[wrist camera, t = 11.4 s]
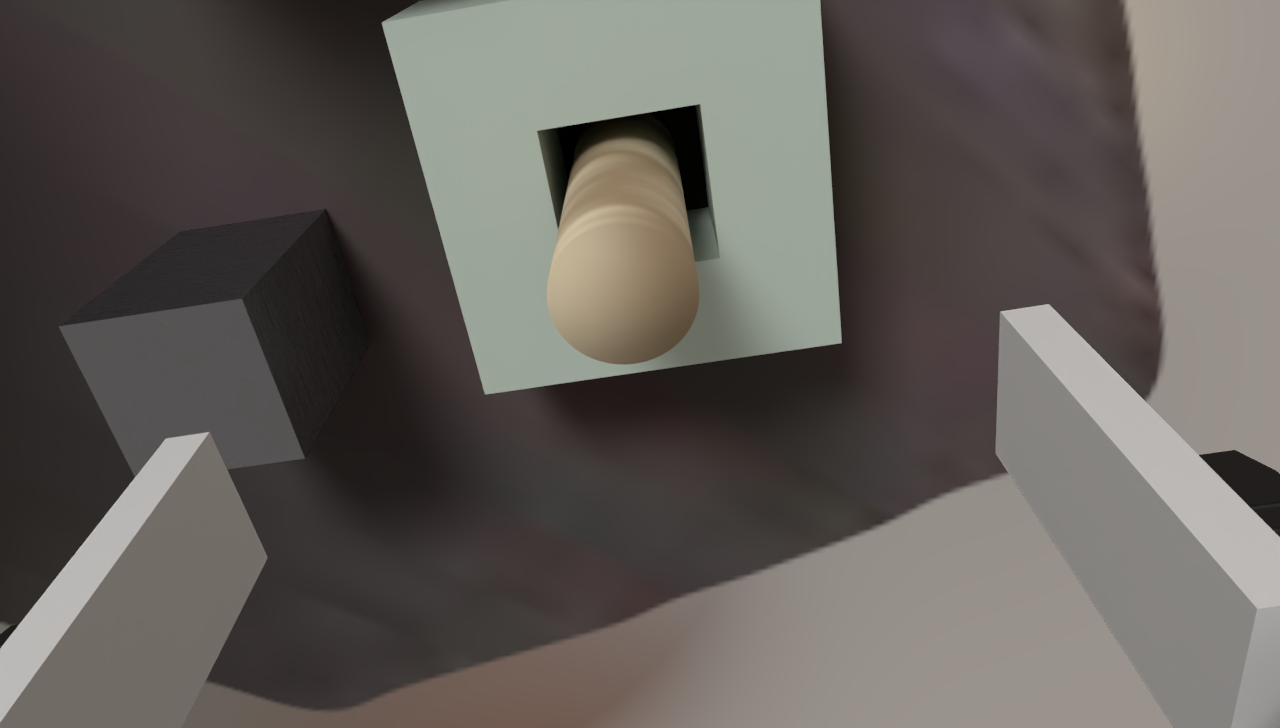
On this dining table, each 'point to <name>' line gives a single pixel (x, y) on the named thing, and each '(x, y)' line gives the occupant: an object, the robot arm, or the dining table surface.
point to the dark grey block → (225, 341)
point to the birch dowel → (624, 245)
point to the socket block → (610, 88)
